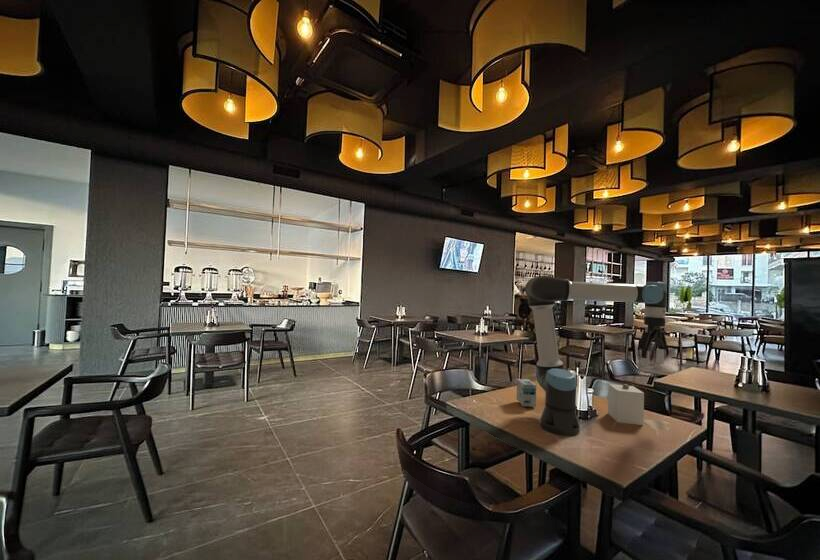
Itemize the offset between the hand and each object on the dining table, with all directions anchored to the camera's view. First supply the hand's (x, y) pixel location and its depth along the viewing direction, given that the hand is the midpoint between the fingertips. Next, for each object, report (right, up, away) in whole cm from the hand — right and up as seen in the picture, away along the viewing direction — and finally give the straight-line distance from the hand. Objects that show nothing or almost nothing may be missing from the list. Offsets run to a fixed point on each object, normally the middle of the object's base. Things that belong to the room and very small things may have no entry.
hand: (652, 364), depth 144 cm
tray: (+2, -26, -2) cm, 26 cm away
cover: (-10, -26, +4) cm, 28 cm away
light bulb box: (-49, -25, +21) cm, 59 cm away
